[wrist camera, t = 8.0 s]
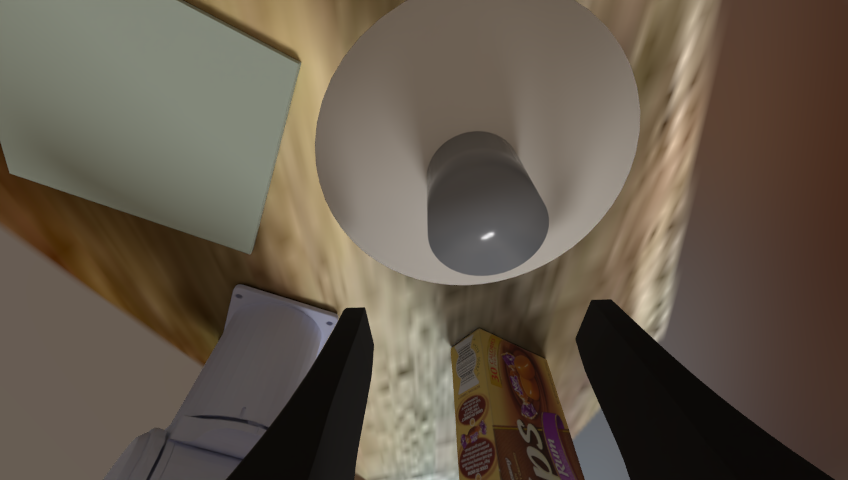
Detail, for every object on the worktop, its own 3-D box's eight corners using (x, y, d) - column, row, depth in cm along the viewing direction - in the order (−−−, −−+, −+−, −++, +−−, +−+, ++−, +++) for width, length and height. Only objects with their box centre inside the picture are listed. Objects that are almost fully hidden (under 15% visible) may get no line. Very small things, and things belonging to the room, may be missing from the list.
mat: (252, 250, 22) (250, 254, 22) (16, 170, 18) (9, 173, 18) (301, 62, 15) (298, 64, 15) (-67, -132, 11) (-82, -135, 11)
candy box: (446, 349, 30) (462, 596, 18) (477, 325, 27) (520, 589, 15) (515, 378, 33) (568, 604, 21) (548, 359, 31) (628, 599, 19)
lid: (501, 301, 15) (519, 375, 12) (286, 219, 12) (245, 290, 9) (703, 105, 10) (819, 154, 7) (400, -131, 7) (384, -216, 4)
